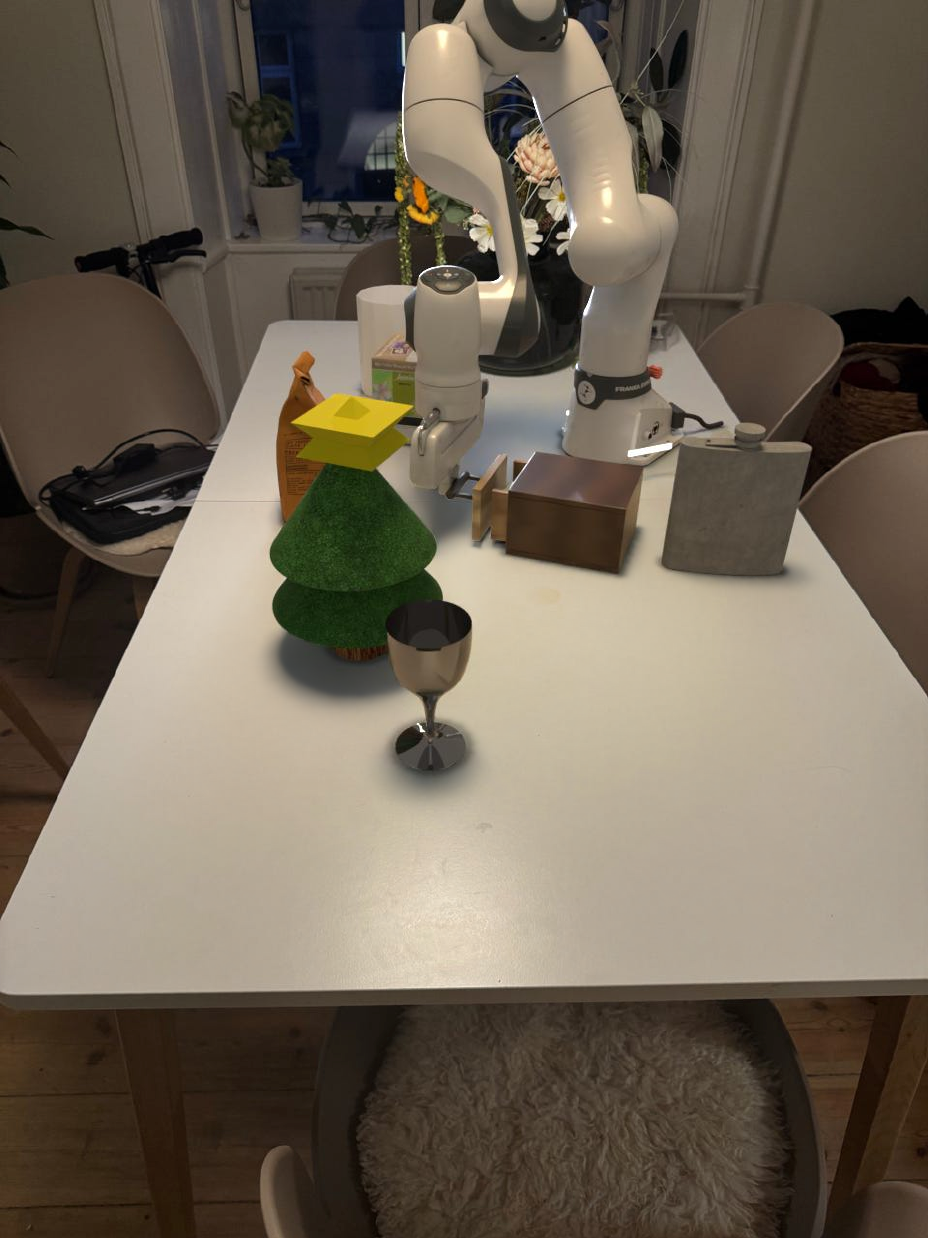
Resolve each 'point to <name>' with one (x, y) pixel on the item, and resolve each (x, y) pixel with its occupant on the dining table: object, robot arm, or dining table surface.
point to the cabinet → (573, 511)
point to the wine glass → (429, 675)
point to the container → (378, 323)
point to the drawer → (488, 497)
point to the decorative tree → (351, 534)
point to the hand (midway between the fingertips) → (448, 490)
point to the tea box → (397, 380)
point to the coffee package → (296, 438)
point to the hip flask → (734, 503)
